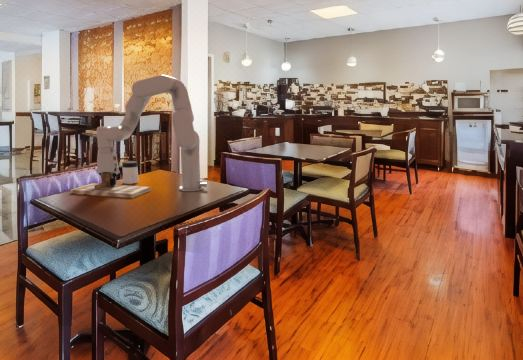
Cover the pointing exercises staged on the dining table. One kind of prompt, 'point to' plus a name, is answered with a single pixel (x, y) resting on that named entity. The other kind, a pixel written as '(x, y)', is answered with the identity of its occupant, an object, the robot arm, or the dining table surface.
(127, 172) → the jar
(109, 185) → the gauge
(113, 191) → the board
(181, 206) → the dining table surface
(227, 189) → the dining table surface
